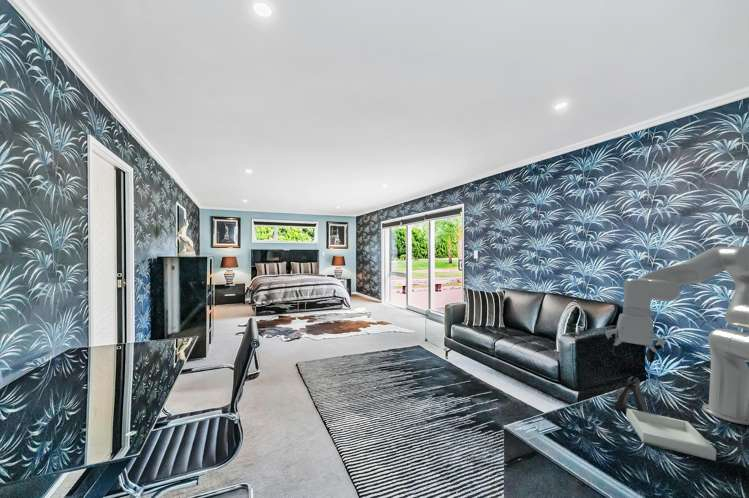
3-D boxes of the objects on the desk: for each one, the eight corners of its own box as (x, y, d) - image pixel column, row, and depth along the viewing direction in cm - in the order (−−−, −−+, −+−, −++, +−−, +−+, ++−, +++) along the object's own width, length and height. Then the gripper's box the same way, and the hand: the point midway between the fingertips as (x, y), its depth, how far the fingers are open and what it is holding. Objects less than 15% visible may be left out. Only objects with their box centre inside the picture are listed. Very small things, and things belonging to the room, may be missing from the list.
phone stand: (649, 414, 112) (651, 381, 112) (645, 419, 108) (647, 384, 108) (618, 403, 119) (620, 372, 119) (613, 408, 115) (615, 375, 115)
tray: (687, 430, 102) (687, 421, 102) (715, 460, 87) (716, 450, 87) (626, 416, 109) (626, 408, 109) (642, 442, 94) (643, 432, 94)
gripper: (662, 314, 113) (659, 361, 113) (604, 307, 121) (601, 351, 121) (671, 317, 107) (667, 367, 106) (609, 310, 114) (606, 356, 114)
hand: (632, 358), depth 114 cm, fingers open, 9 cm apart
